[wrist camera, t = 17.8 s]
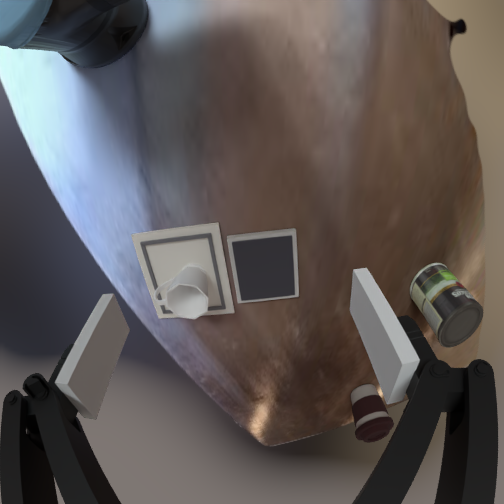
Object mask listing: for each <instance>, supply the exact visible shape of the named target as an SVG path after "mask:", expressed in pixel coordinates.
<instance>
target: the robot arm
mask: <svg viewBox="0 0 504 504" xmlns="http://www.w3.org/2000/svg"><path fill="white" fill-rule="evenodd" d="M147 17H148V8H147V3H146V0H0V45H1V46H8V47H10V48H12V49H18V48H22V49H36V50H47V51H56V52H58V53H59V54H61V55H62V57H63V58H64V59H65V60H67V61H68V62H69V63H71V64H73V65H76V66H80V67H87V68H97V67H102V66H105V65H108V64H111V63H113V62H115V61H116V60H118V59H120V58H121V57H122V56H124V55H125V54H126V53H127V52H128V51H129V50H131V48H132V47H133V46H134V45H135V44H136V42H137V41H138V40H139V38H140V36H141V35H142V33H143V31H144V28H145V26H146V22H147ZM350 312H351V314H352V317H353V319H354V321H355V324H356V326H357V329H358V331H359V333H360V336H361V338H362V341H363V343H364V346H365V348H366V351H367V353H368V356H369V358H370V361H371V363H372V366H373V368H374V371H375V374H376V376H377V379H378V381H379V384H380V387H381V389H382V392H383V395H384V398H385V400H386V403H387V404H391V403H395V402H398V401H402V400H403V399H404V396H405V394H407V396H408V398H409V402H408V403H407V405H406V408H405V409H404V411H403V415H402V417H401V419H400V421H399V423H398V425H397V427H396V429H395V432H394V433H393V435H392V437H391V439H390V441H389V443H388V445H387V447H386V449H385V451H384V453H383V454H382V456H381V458H380V460H379V461H378V463H377V465H376V467H375V468H374V470H373V472H372V474H371V475H370V477H369V478H368V480H367V482H366V483H365V485H364V486H363V488H362V490H361V491H360V493H359V495H358V496H357V497H356V499H355V500H354V502H353V503H352V504H401V503H402V501H403V499H404V497H405V495H406V494H407V492H408V490H409V488H410V486H411V484H412V482H413V480H414V478H415V476H416V473H417V472H418V469H419V467H420V465H421V463H422V461H423V458H424V456H425V454H426V451H427V449H428V446H429V444H430V442H431V439H432V436H433V434H434V431H435V429H436V426H437V423H438V420H439V417H440V414H441V412H447V417H446V430H445V441H444V450H443V458H442V465H441V472H440V478H439V484H438V489H437V494H436V499H435V503H434V504H494V498H495V489H496V478H497V462H498V418H497V401H496V389H495V380H494V372H493V369H492V366H491V365H490V364H489V363H488V362H486V361H484V360H481V359H477V360H474V361H472V362H471V363H470V364H469V366H468V368H451V367H450V366H449V365H448V364H447V363H446V362H444V361H442V360H438V359H437V357H436V356H435V354H434V352H433V350H432V349H431V347H430V345H429V344H428V342H427V340H426V338H425V337H424V335H423V333H422V332H421V331H420V328H419V327H418V325H417V324H416V322H415V321H414V320H413V319H411V318H410V317H409V316H407V315H406V316H401V317H396V316H395V314H394V312H393V310H392V309H391V307H390V305H389V304H388V302H387V300H386V298H385V297H384V295H383V293H382V292H381V290H380V289H379V287H378V285H377V284H376V282H375V280H374V279H373V277H372V276H371V274H370V272H369V271H368V269H367V268H361V269H354V270H353V279H352V291H351V302H350ZM128 333H129V327H128V325H127V323H126V321H125V319H124V316H123V314H122V312H121V309H120V307H119V305H118V302H117V300H116V298H115V295H114V294H103V295H102V297H101V298H100V300H99V302H98V303H97V305H96V307H95V308H94V310H93V312H92V314H91V315H90V317H89V319H88V321H87V322H86V324H85V326H84V328H83V329H82V331H81V333H80V335H79V337H78V339H77V341H76V342H75V344H71V345H70V346H69V347H68V348H67V349H66V350H65V351H64V353H63V355H62V356H61V359H60V360H59V362H58V365H57V366H56V368H55V370H54V372H53V374H52V376H51V378H50V380H49V382H47V381H46V380H45V378H44V377H43V376H42V375H41V374H39V373H35V374H32V375H30V376H29V377H27V379H26V380H25V381H24V384H23V390H24V391H25V392H26V393H27V394H28V396H23V395H22V394H21V393H20V392H19V391H18V390H13V391H11V392H9V393H8V394H7V395H6V397H5V399H4V402H3V412H2V422H1V438H0V484H1V499H2V504H58V500H57V494H56V489H55V482H54V477H55V480H56V482H57V485H58V487H59V490H60V493H61V495H62V497H63V500H64V502H65V504H121V502H120V501H119V499H118V498H117V496H116V494H115V492H114V491H113V489H112V487H111V486H110V484H109V482H108V480H107V478H106V476H105V474H104V473H103V471H102V469H101V467H100V465H99V463H98V461H97V459H96V457H95V455H94V453H93V451H92V449H91V446H90V444H89V442H88V440H87V437H86V435H85V433H84V431H83V428H82V426H81V424H80V421H79V419H78V418H77V417H76V415H77V412H79V413H80V414H81V415H82V416H83V417H84V418H89V419H95V420H96V419H97V416H98V413H99V410H100V407H101V404H102V401H103V398H104V396H105V393H106V390H107V387H108V385H109V382H110V379H111V376H112V374H113V371H114V368H115V366H116V363H117V361H118V358H119V355H120V353H121V350H122V348H123V345H124V343H125V340H126V338H127V335H128ZM26 429H27V434H26Z"/></svg>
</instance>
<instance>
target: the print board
mask: <svg viewBox="0 0 504 504" xmlns="http://www.w3.org/2000/svg"><path fill="white" fill-rule="evenodd" d="M131 236H132V240H133V243H134V246H135V250H136V253H137V256H138V259H139V263H140V266H141V269H142V272H143V275H144V278H145V281H146V284H147V287H148V290H149V292H150V295H151V298H152V301H153V304H154V306H155V309H156V312H157V315H158V317H159V318H176V317H177V316H176V315H175V314H174V313H173V312H172V311H171V310H170V309H169V308H167V307H166V305H158V304H157V303H156V302H155V300H154V292H155V290H156V289H157V288H158V287H159V286H160V285H162V284H163V283H165V282H167V281H168V280H170V279H172V278H174V277H176V276H177V275H178V274H179V273H180V272H181V271H182V268H184V267H185V266H186V265H188V264H189V263H193V264H200V265H201V266H202V267H203V269H204V270H205V271H206V278H207V282H208V297H209V299H208V311H207V312H206V313H204V314H203V315H201V316H204V315H217V314H229V313H235V310H234V305H233V300H232V294H231V289H230V284H229V278H228V273H227V267H226V262H225V256H224V250H223V245H222V239H221V233H220V228H219V222H216V223H208V224H200V225H192V226H184V227H177V228H169V229H162V230H155V231H148V232H141V233H134V234H132V235H131ZM169 286H170V285H169ZM169 286H167V287H166V288H164V289H163V290H161V291H160V293H159V294H158V296H157V300H163V299H166V291H167V289H168V288H169Z"/></svg>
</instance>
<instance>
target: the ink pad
mask: <svg viewBox="0 0 504 504" xmlns="http://www.w3.org/2000/svg"><path fill="white" fill-rule="evenodd" d="M227 243H228V248H229V254H230V260H231V266H232V272H233V278H234V283H235V289H236V295H237V301H238V303H246V302H256V301H266V300H275V299H284V298H292V297H299V285H298V260H297V239H296V229H295V228H292V229H283V230H273V231H264V232H255V233H246V234H237V235H229V236H227Z"/></svg>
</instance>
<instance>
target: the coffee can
mask: <svg viewBox="0 0 504 504" xmlns="http://www.w3.org/2000/svg"><path fill="white" fill-rule="evenodd" d="M410 296H411V298H412V300H413V301H414V302H415V304H416V305H417V306H418V308H419V310H420V311H421V313H422V314H423V316H424V317H425V319H426V320H427V322H428V323H429V325H430V327H431V328H432V330H433V331H434V333H435V335H436V336H437V338H438V340H439V342H440V344H441V345H442V346H444V347H454V346H456V345H459V344H461V343H462V342H464V341H465V340H466V339H468V338H469V337H470V336H471V335H472V334H473V333H474V332H475V330H476V329H477V328H478V326H479V324H480V322H481V320H482V317H483V308H482V306H481V305H480V304H479V303H478V302H477V301H476V300H475V299H474V298H473V296H472V295H471V294H470V293H469V292H468V291H467V290H466V288H465V287H464V286H463V285H462V284H461V283H460V282H459V281H458V280H457V279H456V277H455V276H454V275H453V274H452V273H451V272H450V271H449V270H448V268H447V267H446V266H445V265H444V264H442V263H433V264H430V265H427V266H426V267H424V268H423V269H422V270H420V271H419V272H418V273H417V275H416V276H415V277H414V279H413V281H412V283H411V286H410Z"/></svg>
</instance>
